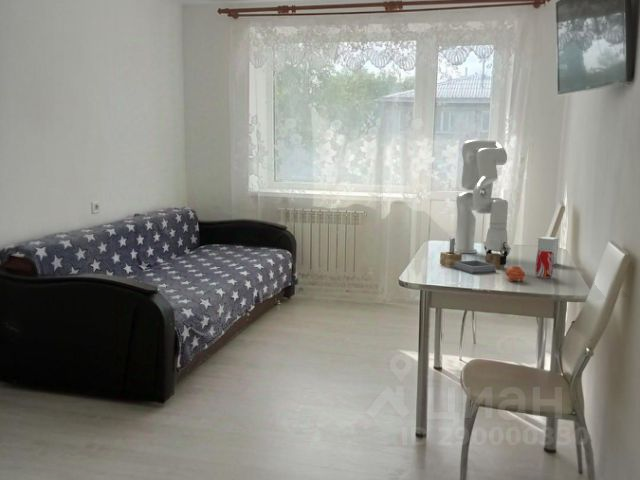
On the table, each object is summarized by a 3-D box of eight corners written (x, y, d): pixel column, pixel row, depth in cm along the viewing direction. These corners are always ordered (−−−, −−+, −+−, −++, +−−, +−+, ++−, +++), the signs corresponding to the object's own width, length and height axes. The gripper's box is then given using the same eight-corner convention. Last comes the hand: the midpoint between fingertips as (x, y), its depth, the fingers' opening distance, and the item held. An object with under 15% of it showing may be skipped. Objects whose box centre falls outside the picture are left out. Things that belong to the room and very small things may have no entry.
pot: (500, 278, 251) (504, 262, 250) (517, 282, 251) (522, 267, 251) (507, 281, 243) (512, 266, 242) (525, 286, 244) (530, 270, 243)
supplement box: (557, 263, 287) (559, 237, 285) (551, 265, 282) (553, 239, 280) (542, 261, 292) (544, 236, 290) (536, 263, 287) (538, 237, 285)
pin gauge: (450, 264, 276) (452, 238, 273) (447, 263, 277) (449, 238, 275) (454, 263, 276) (455, 238, 274) (451, 262, 278) (453, 237, 276)
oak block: (439, 264, 279) (440, 252, 278) (451, 263, 282) (452, 251, 281) (448, 267, 272) (449, 254, 271) (461, 266, 275) (461, 254, 274)
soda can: (544, 279, 252) (546, 251, 250) (531, 275, 258) (533, 248, 256) (555, 277, 255) (558, 250, 253) (542, 274, 261) (545, 247, 259)
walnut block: (485, 266, 277) (486, 253, 276) (495, 265, 279) (496, 253, 278) (494, 268, 271) (495, 256, 271) (504, 268, 274) (505, 255, 273)
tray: (454, 268, 271) (454, 261, 270) (476, 266, 276) (477, 260, 275) (472, 273, 259) (472, 267, 258) (495, 271, 264) (496, 265, 264)
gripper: (479, 224, 278) (477, 259, 281) (504, 229, 263) (502, 266, 265) (491, 223, 282) (489, 259, 284) (517, 228, 266) (515, 265, 269)
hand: (495, 262), depth 275 cm, fingers open, 9 cm apart
